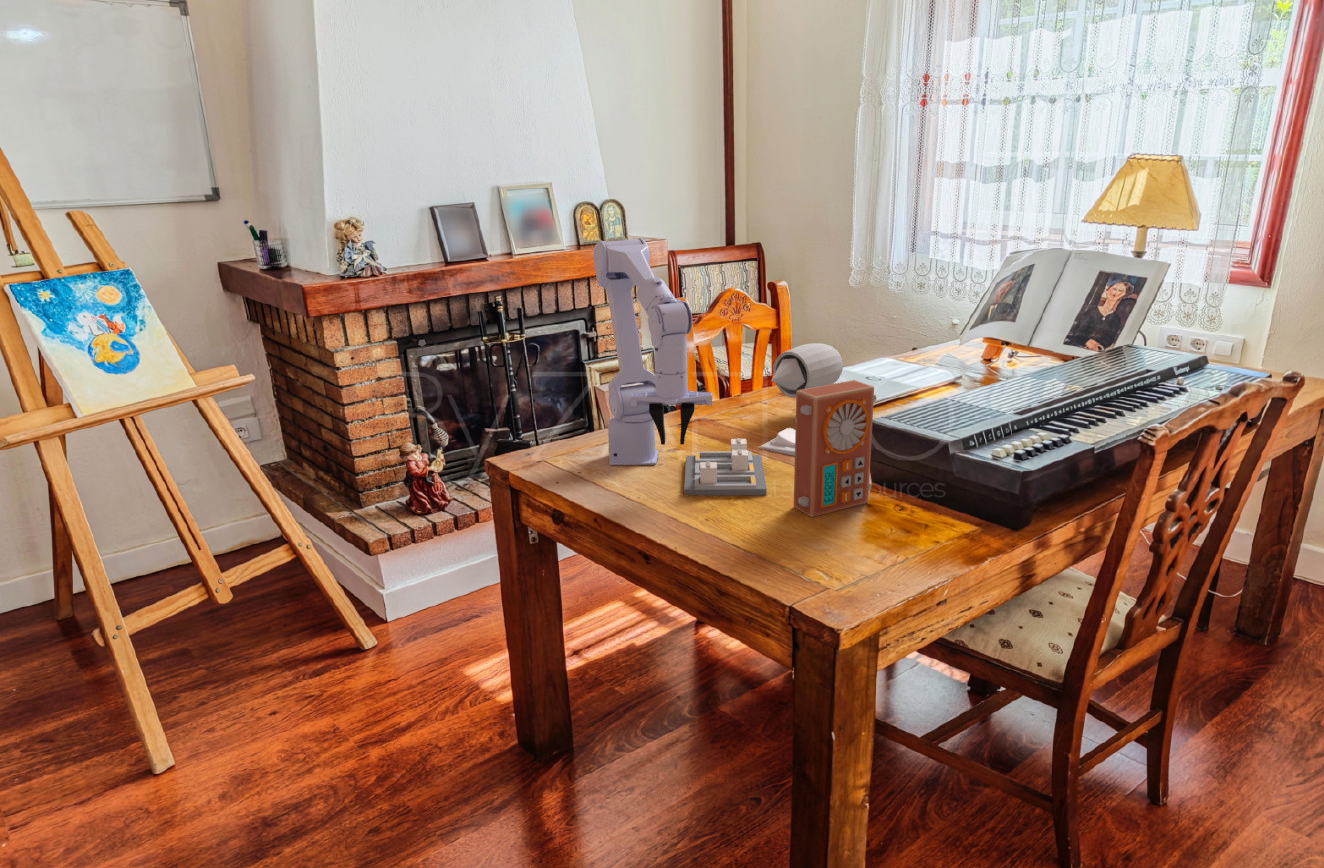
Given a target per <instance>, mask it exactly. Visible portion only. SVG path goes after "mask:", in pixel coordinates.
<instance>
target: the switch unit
mask: <svg viewBox="0 0 1324 868" xmlns="http://www.w3.org/2000/svg"><path fill="white" fill-rule="evenodd" d="M685 458H686V459H685V471H684V472H685V473H684V485H683V495H700V496H767V492H768V491H767V490H768V489H767V484H766V477H765V472H764V466H763V460H762V454H752V450H748V471H732V459H731V450H725V451H720V450H719V451H715V450H714V451H712V450H711V451H709V450H708V451H695V455H691V454H690V455H686V456H685ZM707 461H710V462H717V484H701V476H700V463H701V462H707Z"/></svg>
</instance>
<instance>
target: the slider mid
mask: <svg viewBox="0 0 1324 868" xmlns="http://www.w3.org/2000/svg"><path fill="white" fill-rule="evenodd" d="M748 451H749V450H748V449H747V450H741V449H738V450H732V471H748Z"/></svg>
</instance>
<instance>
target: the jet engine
mask: <svg viewBox="0 0 1324 868" xmlns="http://www.w3.org/2000/svg"><path fill="white" fill-rule="evenodd" d="M843 363H844V362H843V359H842V356H841V354H840V353H839V351H838V350H837V348H836V349H835V347H834V346H831V345H829V344H825V343H819V342H818V343H814V342H813V343H805V344H802V345H801V344H800V345H798V346H796V347H793V348H791V349H788V350H786V351H784V352H782V353H780V354H779V355H778V356H777V357H776V358H775V361H774V363H773V368H772V375H773V377H772V379H771V380H770V381H771V382H773V383H775V385H776V387H777V388H778V390H779V391H780V392H781V394H783V395H784V396H786V397H788V398H794V399H796V391H797V390H802V389H808V388H813V387H819V386H824V385H830V384H835V383H837V381H838V380H839V379H840V377H841V375H842V373H843V368H844V364H843Z"/></svg>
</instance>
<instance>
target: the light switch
mask: <svg viewBox="0 0 1324 868" xmlns="http://www.w3.org/2000/svg"><path fill="white" fill-rule="evenodd" d="M757 449H758V450H759V449H760V450H764V449H766V450H765V451H769V450H770V452H774V453H780V454H783V455H784V454H785V455H787V456H793V457H795V428H791V427H787V428H785V429H784V430H780V431H779V432H778V433H777V434H776V436H775V437H774V438H773V439H771V440H770V441H767V442H765V443H764V444H761V445H760V446H758V447H757Z"/></svg>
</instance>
